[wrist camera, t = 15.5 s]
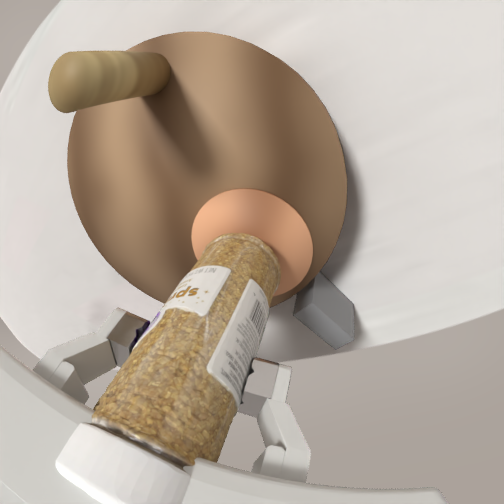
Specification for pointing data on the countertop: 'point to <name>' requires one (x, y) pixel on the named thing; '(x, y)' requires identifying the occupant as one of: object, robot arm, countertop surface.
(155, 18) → the countertop surface
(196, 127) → the wooden peg stand
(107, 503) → the sprinkles bottle
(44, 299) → the countertop surface
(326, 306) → the grey polygonal block
